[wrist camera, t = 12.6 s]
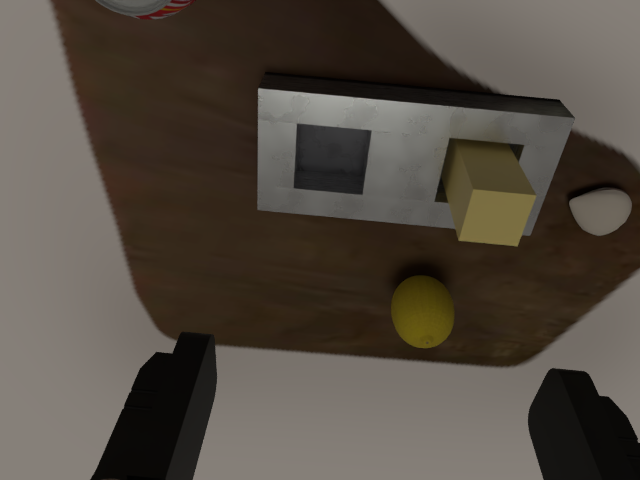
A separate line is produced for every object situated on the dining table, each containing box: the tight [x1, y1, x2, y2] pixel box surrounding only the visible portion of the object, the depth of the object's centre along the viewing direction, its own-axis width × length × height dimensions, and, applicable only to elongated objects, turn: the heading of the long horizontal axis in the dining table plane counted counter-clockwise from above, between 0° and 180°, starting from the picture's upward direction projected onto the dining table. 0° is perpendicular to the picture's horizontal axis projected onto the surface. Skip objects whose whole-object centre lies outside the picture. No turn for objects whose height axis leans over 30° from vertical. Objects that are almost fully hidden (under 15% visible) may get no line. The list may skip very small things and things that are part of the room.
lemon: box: [391, 275, 454, 348], centre depth 46 cm, size 6×6×8 cm
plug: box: [441, 138, 537, 246], centre depth 38 cm, size 5×4×9 cm
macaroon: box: [569, 188, 632, 236], centre depth 43 cm, size 4×5×2 cm
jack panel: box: [258, 72, 575, 236], centre depth 40 cm, size 10×22×4 cm, turn 86°
